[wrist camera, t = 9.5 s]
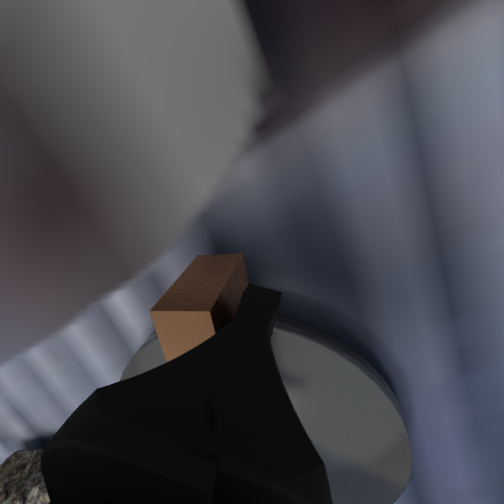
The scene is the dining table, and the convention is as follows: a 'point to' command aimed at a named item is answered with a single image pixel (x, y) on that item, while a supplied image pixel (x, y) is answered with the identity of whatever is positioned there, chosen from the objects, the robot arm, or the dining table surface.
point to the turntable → (296, 380)
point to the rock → (23, 479)
